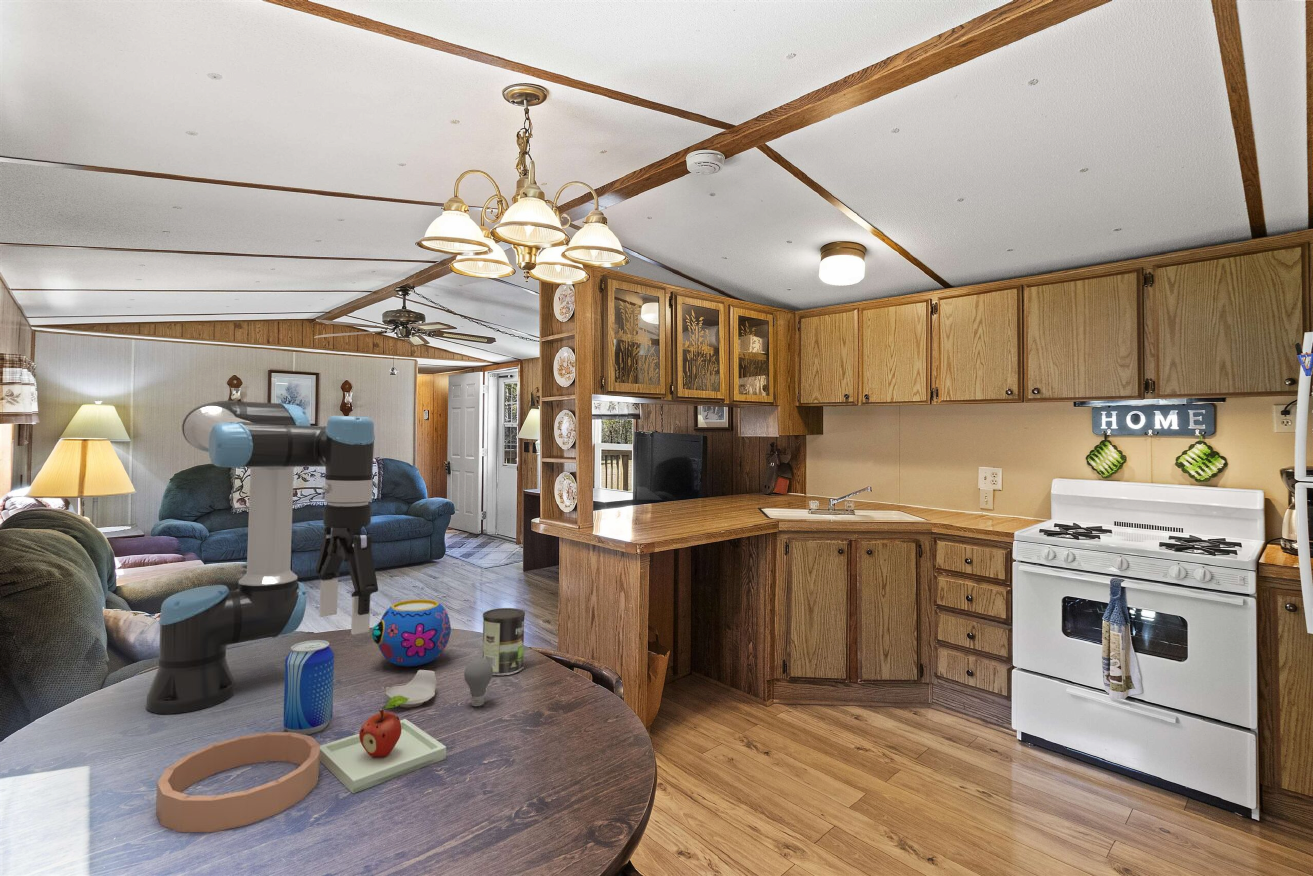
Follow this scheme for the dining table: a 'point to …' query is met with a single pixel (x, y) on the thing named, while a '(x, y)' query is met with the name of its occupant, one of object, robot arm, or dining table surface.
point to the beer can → (308, 687)
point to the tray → (380, 758)
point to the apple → (382, 730)
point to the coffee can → (503, 639)
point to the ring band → (240, 805)
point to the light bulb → (478, 679)
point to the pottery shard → (415, 689)
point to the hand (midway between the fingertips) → (343, 623)
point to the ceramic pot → (413, 632)
